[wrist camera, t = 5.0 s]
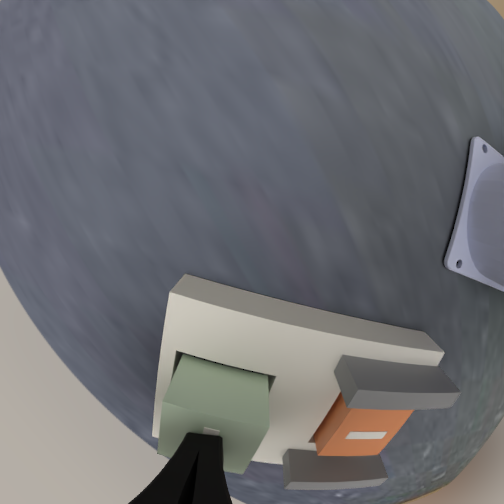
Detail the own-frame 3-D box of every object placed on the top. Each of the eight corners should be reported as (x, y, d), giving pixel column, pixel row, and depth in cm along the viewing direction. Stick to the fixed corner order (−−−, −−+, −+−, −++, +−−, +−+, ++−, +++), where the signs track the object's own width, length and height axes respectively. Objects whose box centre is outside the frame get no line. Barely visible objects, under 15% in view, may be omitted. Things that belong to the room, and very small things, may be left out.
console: (426, 332, 14) (470, 377, 9) (356, 441, 16) (372, 491, 11) (185, 273, 13) (147, 319, 8) (162, 410, 15) (140, 465, 10)
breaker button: (393, 374, 14) (414, 409, 11) (363, 419, 15) (377, 455, 11) (336, 367, 14) (352, 408, 10) (310, 415, 15) (317, 456, 11)
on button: (268, 375, 12) (269, 428, 9) (245, 427, 13) (242, 475, 9) (183, 353, 12) (162, 402, 8) (173, 408, 13) (156, 454, 9)
